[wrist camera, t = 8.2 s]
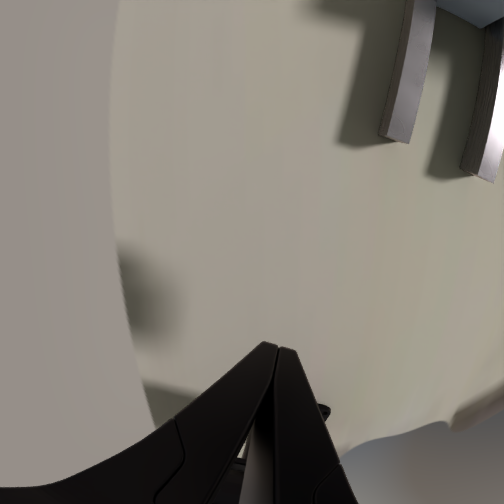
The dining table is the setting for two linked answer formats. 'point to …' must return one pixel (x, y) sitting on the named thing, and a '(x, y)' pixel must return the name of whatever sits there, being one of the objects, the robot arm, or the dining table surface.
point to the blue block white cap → (474, 10)
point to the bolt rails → (412, 80)
